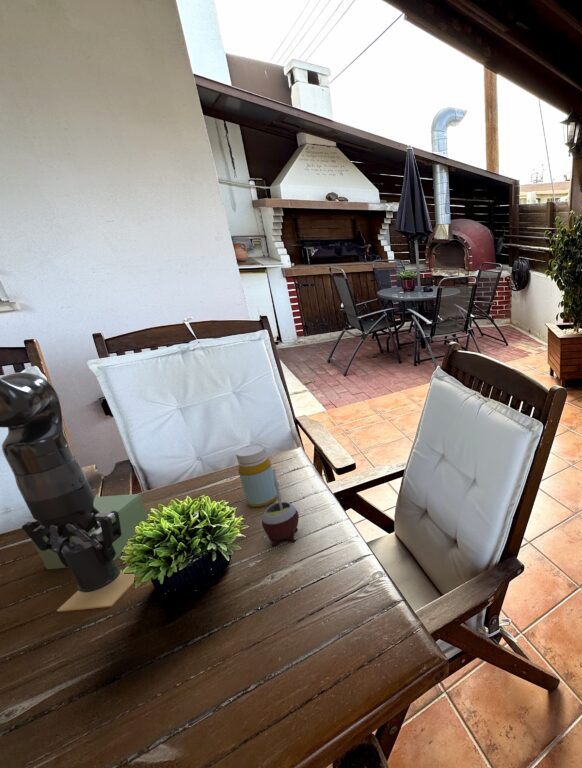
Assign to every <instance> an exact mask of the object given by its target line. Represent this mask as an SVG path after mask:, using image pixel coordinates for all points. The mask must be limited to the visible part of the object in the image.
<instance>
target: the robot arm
mask: <svg viewBox="0 0 582 768" xmlns="http://www.w3.org/2000/svg"><path fill="white" fill-rule="evenodd" d="M0 428H7V435H6V437H5V439H4V440H3V442H2V444H1V450H2V454H3V456H4V458H5V460H6V462H7V464H8V466H9V468H10V470H11V472H12V473H13V476H14V479H15V484H16V486H17V489H18V491H19V493H20V495H21V497H22V499H23V500H24V502H25V504H26V506H27V508H28V510H29V512H30V514H31V516H32V518H31V520H29V521H27V522H26V523H24V524H23V525H22V526H21V528H22V530H23V531H24V532H25V533H26V535H27V536H28V537H29V538H30V540H31V539H32V540H33V542H34V543H35V544H36V545H37V546H38V548H39V549H40V550H42V551H46V550H47V549H51V550H52V551H53V552H55V553H57V554H58V556H59V558H60V560H61V562H62V563H63V564H64V565H65V567H68V568H69V566H68V564H67V562H66V560H65V558H64V556H63V554H62V552H61V549H62V548H63V547H64V546H65V545H66V544H67V543H68V542H70V541H72V536H77V537H79V538H80V539H81V540H82V541H84V542H89V543H90V544H91V545H92V546H94V547H95V548H96V549H95V551H96V553H97V555H98V557H99V560H100V562H101V564H108V563H109V562H110V561H111V560H112V559H113V558H114V557H115V555H116V552H115V550H114V547H113V545H112V543H113V542H114V541H115V540H117V539H118V538H119V537H120V536H121V535H122V533H121V526H120V520H119V514H118V512H117V511H111V512H110V513H100V512H99V511H98V510H97V509H96V508H95V507H94V506H93V503H94V498H95V497H96V496H95V494H94V492H93V490H92V487H91V485H90V484H89V483H90V482H89V480H88V478H87V477H86V474H85V472H84V469H83V468H82V465H81V464H80V462H79V461H78V460H77V457H76V456H75V454H74V452H73V449H72V447H71V444H70V443H69V440H68V438H67V437H66V435H65V431H64V419H63V413H62V407H61V401H60V398H59V396H58V392H57V391H56V389H55V388H54V386H53V385H52V383H50V382H49V381H48V380H47V379H46V378H44V377H42V376H40V375H38V374H35V373H32V372H31V373H30V372H13V373H9V374H6V375H4V376H2V377H0ZM93 528H94V531H93V532H92V533H90V534H88V532H89V531H90V530H92V529H93ZM97 535H99V536H100V537H101V538H102V539H101V540H99V539H97V537H96V536H97ZM44 536H46V537H47V538H48V539H49V540H47V541H46V542H45V540H44V539H43V537H44ZM32 540H31V541H32ZM33 542H32V543H33Z"/></svg>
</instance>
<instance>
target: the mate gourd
mask: <svg viewBox="0 0 582 768" xmlns="http://www.w3.org/2000/svg"><path fill="white" fill-rule="evenodd" d="M272 469H273V476H274V482H275V483H274V485H275V487H276V492H277V496H278V497H277V500H278V501H277V503H274V504H272V505H270V506H268V507H267V508H266V509H265V511H264V512H263V515H262V517H261V526H262V528H263V531H264V532H265V534H266V535H267V537H268V540H269V541H270V542H271V543H272V544H271V548H276V547H277V546H278V545H280V544H281V543H283V542H284V541H287V542H289V543H292V544H294V543H296V541H297V539H296V538H295V533H296V532H297V531H298V530H299V529H298V525H299V519H300V518H299V517H300V515H299V511H298V510H297V508H296V507H295V505H294V504H292V503H290V502H287V501H283V500H282V498H281V492H280V484H279V482H278V477H277V471H276V468H272Z"/></svg>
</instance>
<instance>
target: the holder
mask: <svg viewBox="0 0 582 768" xmlns="http://www.w3.org/2000/svg"><path fill="white" fill-rule="evenodd" d="M96 537H97V539H99V540H101V539H102V538H101V537H100V536H99V535H97V536H96ZM95 549H96V548H95V547H94V546H92V545H91V544H90V543H89V542H84V541H82V540H81V539H80V538H79V537H78V538H76V539H74V540H72V541H70V542H68V543H67V544H66V545H65V546H64V547H63V548H62V549H61V552H62V554H63V556H64V558H65V560H66V562H67V564H68V566H69V567H68V568H69V570H70V572H71V574H72V576H73V578H74V580H75V582H76V584H77V586H76V587H77V591H78V590H79V591H80V592H84V593H85V592H92V591H95V590H98V589H101V588H103V587H105V586H107V585H108V584H110V583H111V582H113V581H114V580H115V579H116V578H117V577H118V576H119V574H120V570H121V569H120V567H118V566H117V564H116V562H115V561H114V560H113V559H112V560H111V561H110V562H109V563H108V564H101V562H100V560H99V557H98V555H97V553H96V551H95Z"/></svg>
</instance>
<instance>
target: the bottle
mask: <svg viewBox="0 0 582 768" xmlns="http://www.w3.org/2000/svg"><path fill="white" fill-rule="evenodd" d="M235 455H236V460H237V462H238V468H237V470H238V475H239V479H240V482H241V485H242V489H243V493H244V496H245V500H246V503H247V505H248V506H249V507H252V508H262V507H266V506H268V505H270V504H273V502H275V501H276V500H277V499H278V496H277V492H276V487H275V485H274V483H275V482H274V476H273V469H274V468H273V465H272V462H271V460H270V459H269V458H268V454H267V450H266V446H265V444H263V443H252V444H247V445H245V446H242V447H240V448H238V449H237V450H236V453H235Z"/></svg>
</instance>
